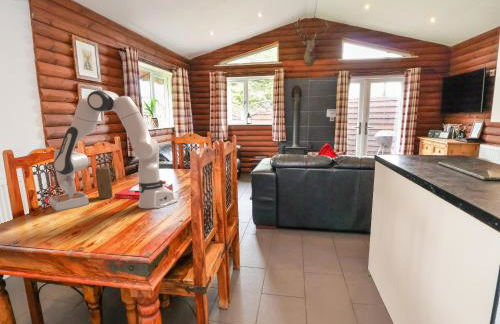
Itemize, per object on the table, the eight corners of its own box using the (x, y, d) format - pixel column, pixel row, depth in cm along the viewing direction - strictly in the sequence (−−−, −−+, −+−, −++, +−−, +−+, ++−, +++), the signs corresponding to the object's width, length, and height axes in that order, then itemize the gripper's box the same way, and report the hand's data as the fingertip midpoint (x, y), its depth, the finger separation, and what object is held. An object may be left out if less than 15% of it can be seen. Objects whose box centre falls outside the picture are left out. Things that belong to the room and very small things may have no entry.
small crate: (77, 200, 166) (76, 192, 165) (80, 202, 161) (79, 194, 161) (58, 204, 158) (57, 196, 158) (60, 206, 154) (59, 198, 154)
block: (113, 198, 173) (110, 167, 170) (100, 200, 168) (97, 168, 165) (110, 194, 181) (107, 165, 178) (97, 196, 177) (94, 166, 174)
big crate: (81, 199, 171) (80, 191, 170) (89, 204, 160) (88, 196, 159) (50, 205, 160) (49, 197, 159) (56, 211, 149) (55, 203, 148)
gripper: (77, 177, 152) (80, 200, 155) (67, 172, 166) (70, 194, 169) (63, 179, 148) (67, 203, 150) (55, 173, 162) (58, 196, 164)
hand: (68, 198), depth 159 cm, fingers open, 8 cm apart
